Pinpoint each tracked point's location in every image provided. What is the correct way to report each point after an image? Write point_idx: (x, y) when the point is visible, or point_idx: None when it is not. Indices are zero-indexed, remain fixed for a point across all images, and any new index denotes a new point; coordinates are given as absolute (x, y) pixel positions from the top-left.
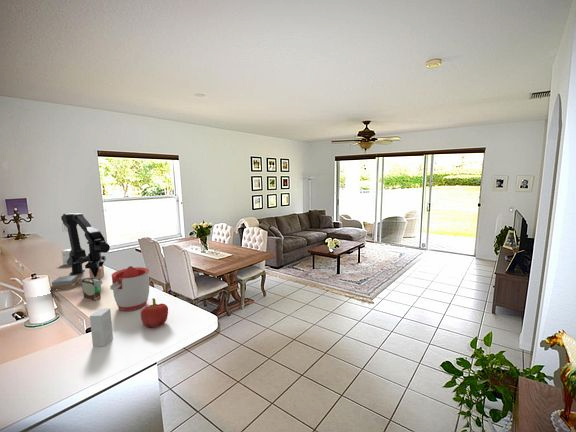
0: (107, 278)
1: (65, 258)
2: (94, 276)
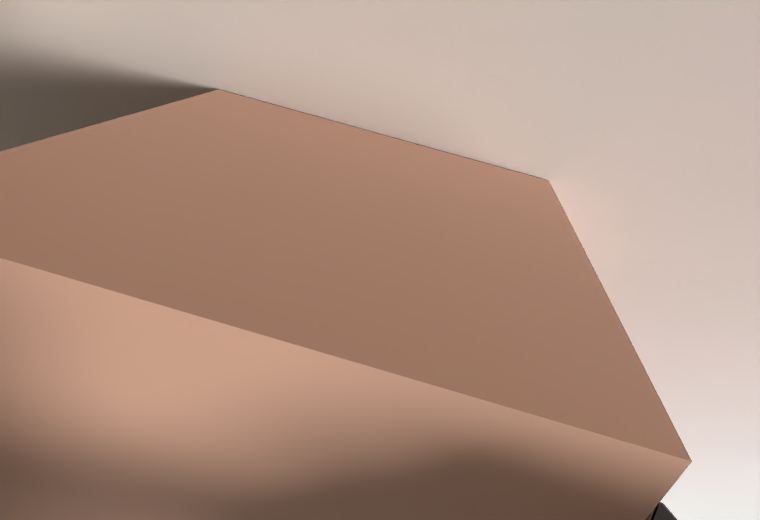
0: None
1: None
2: None
